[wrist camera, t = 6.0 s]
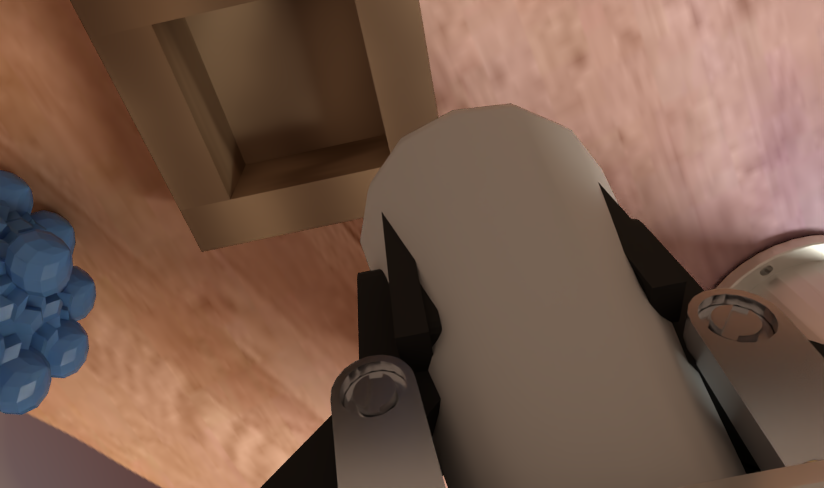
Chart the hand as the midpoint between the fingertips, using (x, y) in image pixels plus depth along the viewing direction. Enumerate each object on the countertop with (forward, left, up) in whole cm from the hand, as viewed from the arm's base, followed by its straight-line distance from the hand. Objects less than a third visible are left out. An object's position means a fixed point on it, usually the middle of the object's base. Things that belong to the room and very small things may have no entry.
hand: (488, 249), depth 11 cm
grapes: (+21, +4, -18) cm, 28 cm away
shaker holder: (+6, -1, -18) cm, 19 cm away
